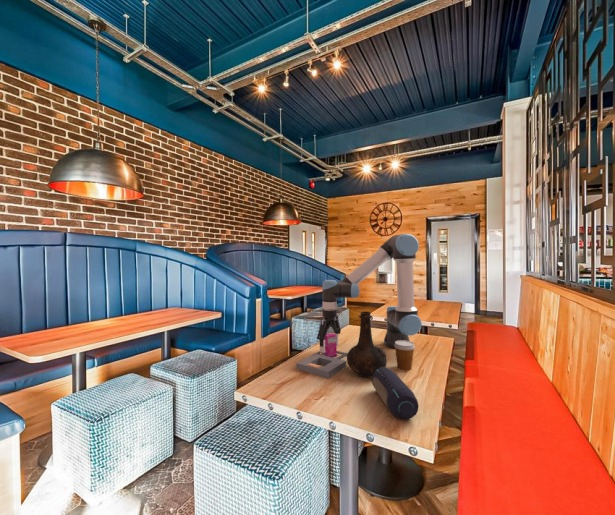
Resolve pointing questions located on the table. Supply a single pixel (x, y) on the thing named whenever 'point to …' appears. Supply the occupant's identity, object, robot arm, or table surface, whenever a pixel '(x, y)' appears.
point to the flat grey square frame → (337, 352)
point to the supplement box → (330, 345)
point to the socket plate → (325, 371)
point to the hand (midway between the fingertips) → (329, 348)
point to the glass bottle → (366, 351)
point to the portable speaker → (395, 393)
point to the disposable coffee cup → (404, 354)
